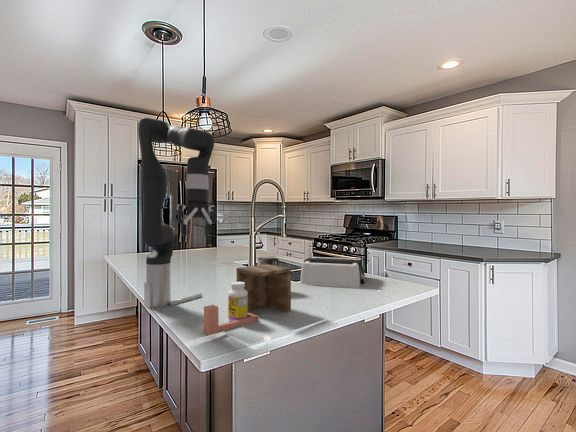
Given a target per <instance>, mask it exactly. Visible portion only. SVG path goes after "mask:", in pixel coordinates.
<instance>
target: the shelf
mask: <svg viewBox="0 0 576 432" xmlns="http://www.w3.org/2000/svg"><path fill="white" fill-rule="evenodd" d="M236 282H244V283H245V287H244V289H245V290H246V291H247V292H248V311H249V310H253V309H257V308H261V307H264V306H267V307H268V306H269V307H271V308H274V309H277V310H281V311H284V312H286V313H287V312H291V311H292V308H291V307H292V305H291V304H292V295H291V294H292V293H291V292H292V269H291V267H287V266H286V267H285V266H280V265H279V266H275V265H270V264H264V265H258V264H257V265H251V266H242V267H241V266H240V267H236Z"/></svg>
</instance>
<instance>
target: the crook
mask: <svg viewBox="0 0 576 432" xmlns="http://www.w3.org/2000/svg"><path fill="white" fill-rule="evenodd" d="M258 321H259V315H256V314H254V313H250V312H248V317H247V318H243V319H240V320H236V321H232V322H231V321H228V322H225V323H222V324H219V306H218V305H214V304H210V305H206V306H203V333H204V334H205V335H208V336H212V335H215V334H219V332H223V331H226V330H229V329H233V328H237V327H241V326H244V325H247V324H250V323H255V322H258Z"/></svg>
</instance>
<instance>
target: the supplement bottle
mask: <svg viewBox="0 0 576 432" xmlns="http://www.w3.org/2000/svg"><path fill="white" fill-rule="evenodd" d="M230 287H231V289H230V290H229V291H228V294H227V295H228V297H227V302H228V304H227V306H228V310H227V312H228V313H227V318H228V322H232V321H236V320H240V319H243V318H247V317H248V313H249V312H248V311H249V310H248V292H247V291H246V290H245V289H244V287H245V283H244V282H237V281H233V282H231V283H230Z"/></svg>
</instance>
